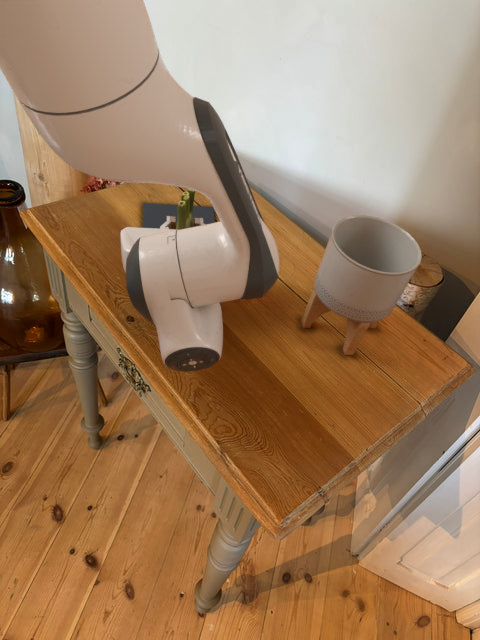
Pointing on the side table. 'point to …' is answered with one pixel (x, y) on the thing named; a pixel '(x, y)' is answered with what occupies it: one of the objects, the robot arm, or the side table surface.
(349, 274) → the planter
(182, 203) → the fennel bulb
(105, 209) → the side table surface
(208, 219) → the mat
